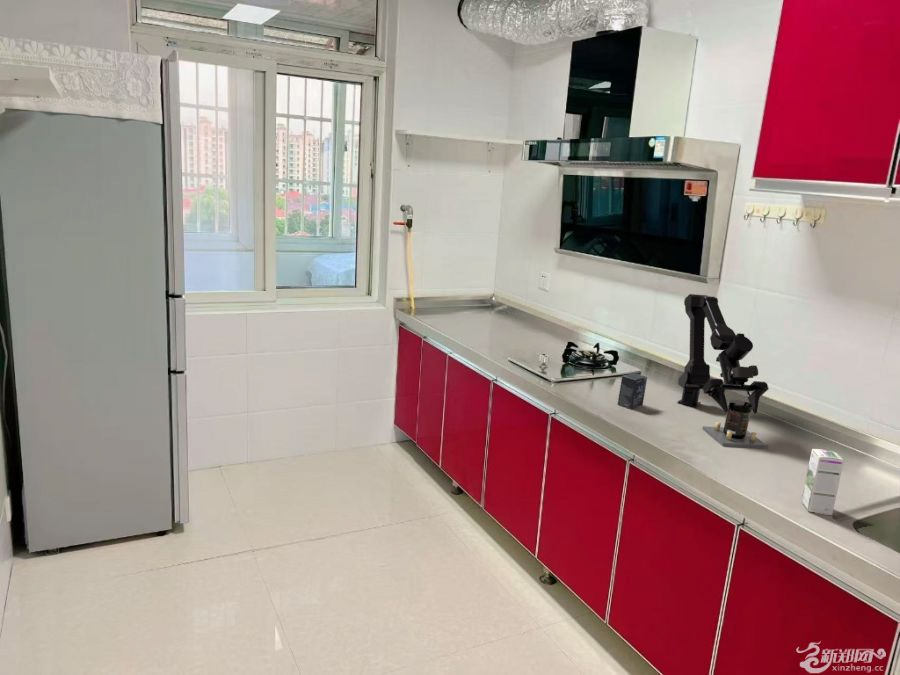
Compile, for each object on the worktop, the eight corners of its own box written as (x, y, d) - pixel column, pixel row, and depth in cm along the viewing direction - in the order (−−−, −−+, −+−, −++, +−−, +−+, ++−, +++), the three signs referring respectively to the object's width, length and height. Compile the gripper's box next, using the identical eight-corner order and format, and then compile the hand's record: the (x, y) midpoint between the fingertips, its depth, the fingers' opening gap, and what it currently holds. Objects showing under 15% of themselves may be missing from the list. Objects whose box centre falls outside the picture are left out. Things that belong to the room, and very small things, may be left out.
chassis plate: (702, 429, 221) (704, 418, 220) (744, 431, 222) (746, 421, 221) (722, 446, 207) (724, 435, 206) (767, 448, 208) (769, 437, 208)
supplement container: (748, 435, 215) (754, 404, 213) (742, 441, 210) (749, 408, 207) (726, 429, 219) (732, 398, 217) (719, 434, 214) (726, 402, 211)
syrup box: (832, 516, 166) (846, 459, 163) (806, 512, 167) (819, 456, 164) (824, 505, 172) (837, 451, 169) (799, 501, 173) (811, 447, 169)
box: (631, 409, 234) (636, 379, 232) (617, 404, 238) (621, 375, 236) (643, 405, 240) (647, 376, 237) (628, 401, 244) (633, 372, 241)
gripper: (713, 353, 212) (724, 399, 203) (771, 357, 213) (784, 402, 205) (698, 370, 221) (707, 415, 213) (753, 374, 223) (765, 418, 215)
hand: (741, 412), depth 211 cm, fingers open, 9 cm apart
